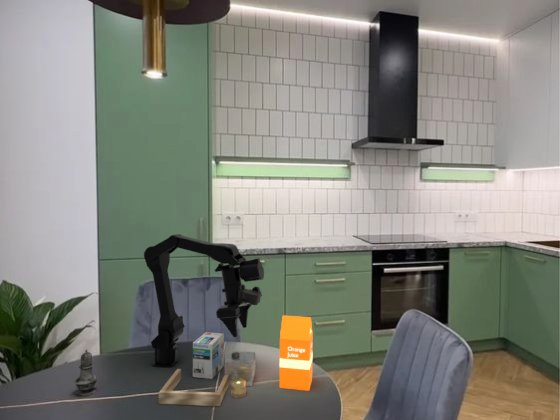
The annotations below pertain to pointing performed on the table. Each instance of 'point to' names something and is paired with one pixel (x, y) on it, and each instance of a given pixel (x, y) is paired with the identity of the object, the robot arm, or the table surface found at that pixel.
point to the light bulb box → (208, 355)
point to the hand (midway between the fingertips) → (240, 332)
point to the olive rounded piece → (238, 387)
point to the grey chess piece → (86, 376)
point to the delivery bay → (191, 393)
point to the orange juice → (296, 353)
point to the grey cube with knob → (241, 366)
